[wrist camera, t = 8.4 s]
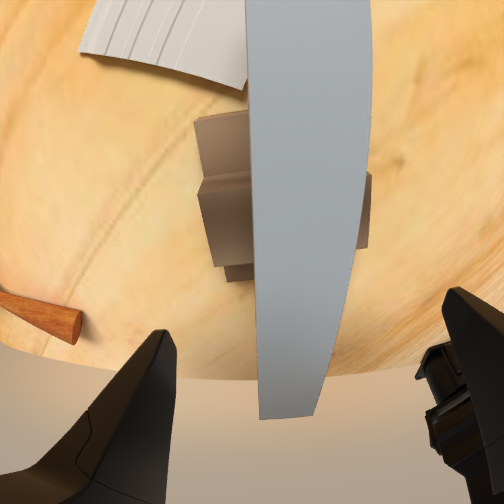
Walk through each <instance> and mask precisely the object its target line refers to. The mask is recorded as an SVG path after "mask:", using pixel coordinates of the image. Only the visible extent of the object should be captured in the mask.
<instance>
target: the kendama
mask: <svg viewBox="0 0 504 504" xmlns="http://www.w3.org/2000/svg"><path fill="white" fill-rule="evenodd" d="M0 306H1V307H3V308H4V309H6V310H8V311H9V312H11V313H13V314H14V315H16V316H18V317H20V318H21V319H23V320H25V321H27V322H28V323H30V324H32V325H34V326H36V327H38V328H39V329H41V330H43V331H45V332H47V333H49V334H51V335H53V336H55V337H57V338H59V339H61V340H63V341H65V342H67V343H69V344H71V345H75V344H76V342H77V340H78V337H79V334H80V330H81V325H82V315H81V311H80V310H75V309H70V308H66V307H61V306H56V305H52V304H48V303H43V302H39V301H35V300H31V299H27V298H23V297H19V296H15V295H12V294H8V293H4V292H1V291H0Z"/></svg>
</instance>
